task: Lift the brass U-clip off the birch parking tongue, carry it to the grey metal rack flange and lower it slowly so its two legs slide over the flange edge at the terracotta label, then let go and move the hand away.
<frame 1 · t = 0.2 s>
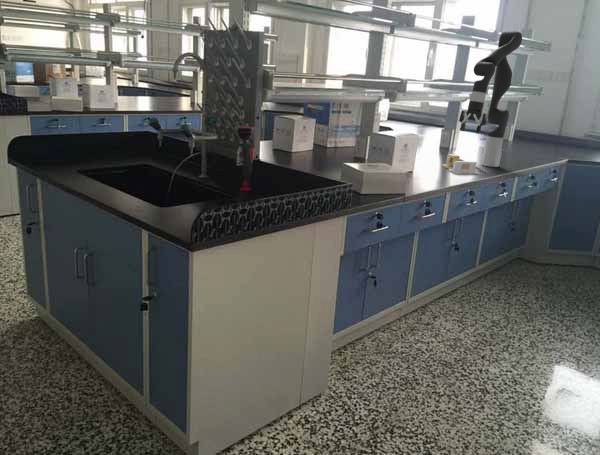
hand: (469, 131, 281), 22 cm above the countertop, tool pointing down, fingers open, 8 cm apart
caliper: (470, 170, 297), on the countertop
parking tongue: (451, 167, 297), on the countertop
u clip: (452, 162, 296), point 3 cm above the countertop, touching parking tongue
rack flange: (463, 172, 286), on the countertop
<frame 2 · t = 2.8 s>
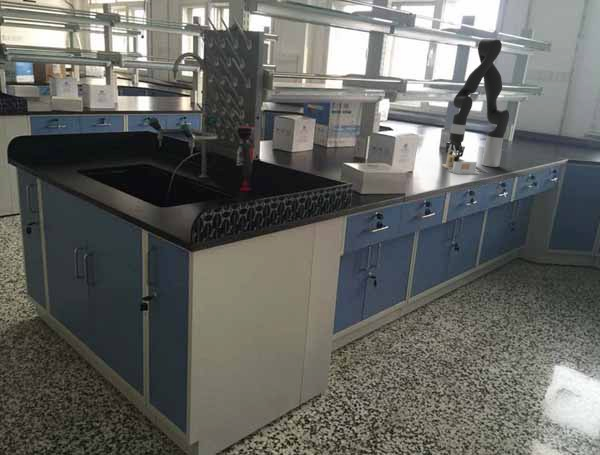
hand: (452, 162, 296), 3 cm above the countertop, tool pointing down, fingers closed on u clip, 5 cm apart
u clip: (452, 162, 296), point 3 cm above the countertop, touching gripper, parking tongue
everything else where it was.
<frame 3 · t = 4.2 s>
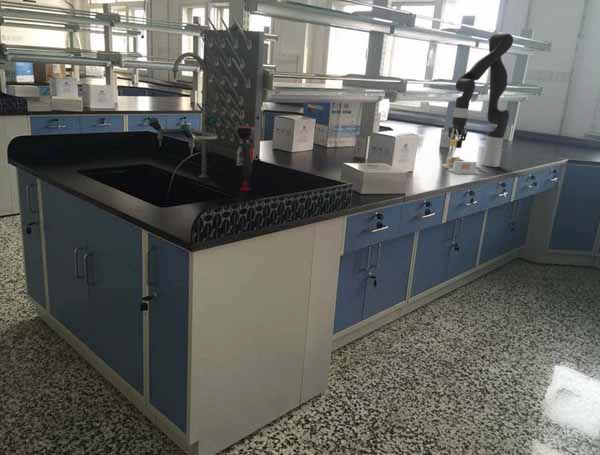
hand: (455, 146, 293), 12 cm above the countertop, tool pointing down, fingers closed on u clip, 5 cm apart
u clip: (455, 146, 293), point 12 cm above the countertop, touching gripper
everything else where it was.
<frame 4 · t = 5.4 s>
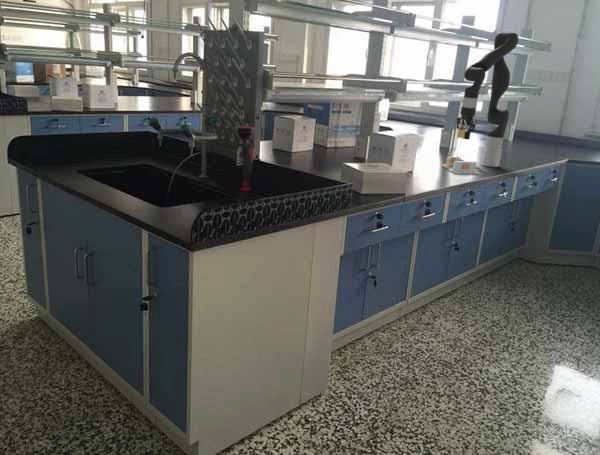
hand: (463, 138, 285), 18 cm above the countertop, tool pointing down, fingers closed on u clip, 5 cm apart
u clip: (463, 138, 285), point 18 cm above the countertop, touching gripper
everything else where it was.
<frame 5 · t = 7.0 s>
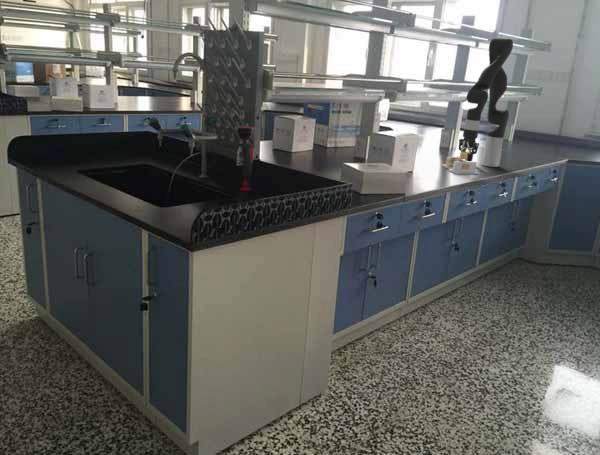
hand: (465, 159, 283), 7 cm above the countertop, tool pointing down, fingers closed on u clip, 5 cm apart
u clip: (465, 160, 283), point 7 cm above the countertop, touching gripper
everything else where it was.
when the fingers open (4 cm above the countertop, at t = 8.2 s): u clip drops 1 cm, resting on rack flange.
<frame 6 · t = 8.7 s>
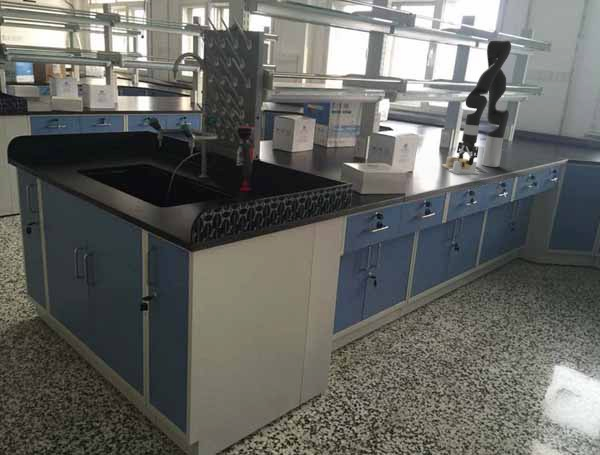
hand: (465, 163, 284), 5 cm above the countertop, tool pointing down, fingers open, 8 cm apart
u clip: (464, 167, 285), point 3 cm above the countertop, touching rack flange
everything else where it was.
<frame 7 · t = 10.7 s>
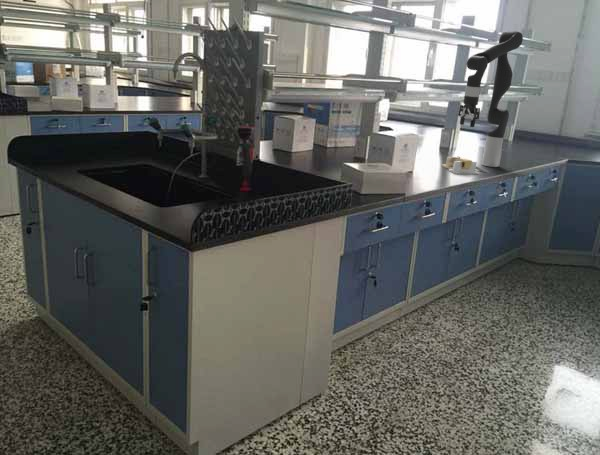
hand: (466, 125, 287), 24 cm above the countertop, tool pointing down, fingers open, 8 cm apart
nothing on the countertop moved.
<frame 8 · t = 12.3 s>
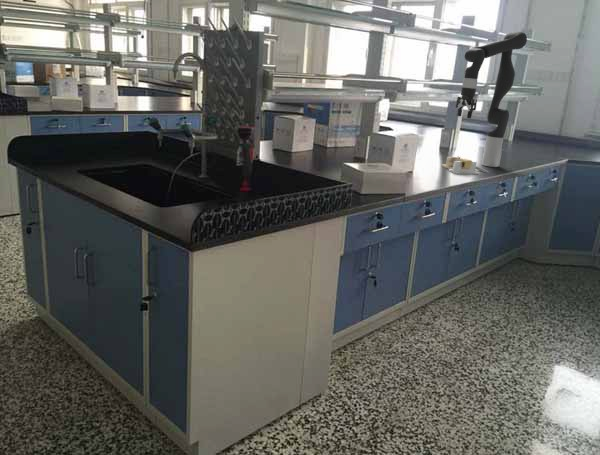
hand: (463, 117, 291), 28 cm above the countertop, tool pointing down, fingers open, 8 cm apart
nothing on the countertop moved.
at the end: u clip 0.1 cm off-centre on the rack flange, point 3.0 cm above the rack flange's base; u clip tilted 0°; the gripper is holding nothing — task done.
